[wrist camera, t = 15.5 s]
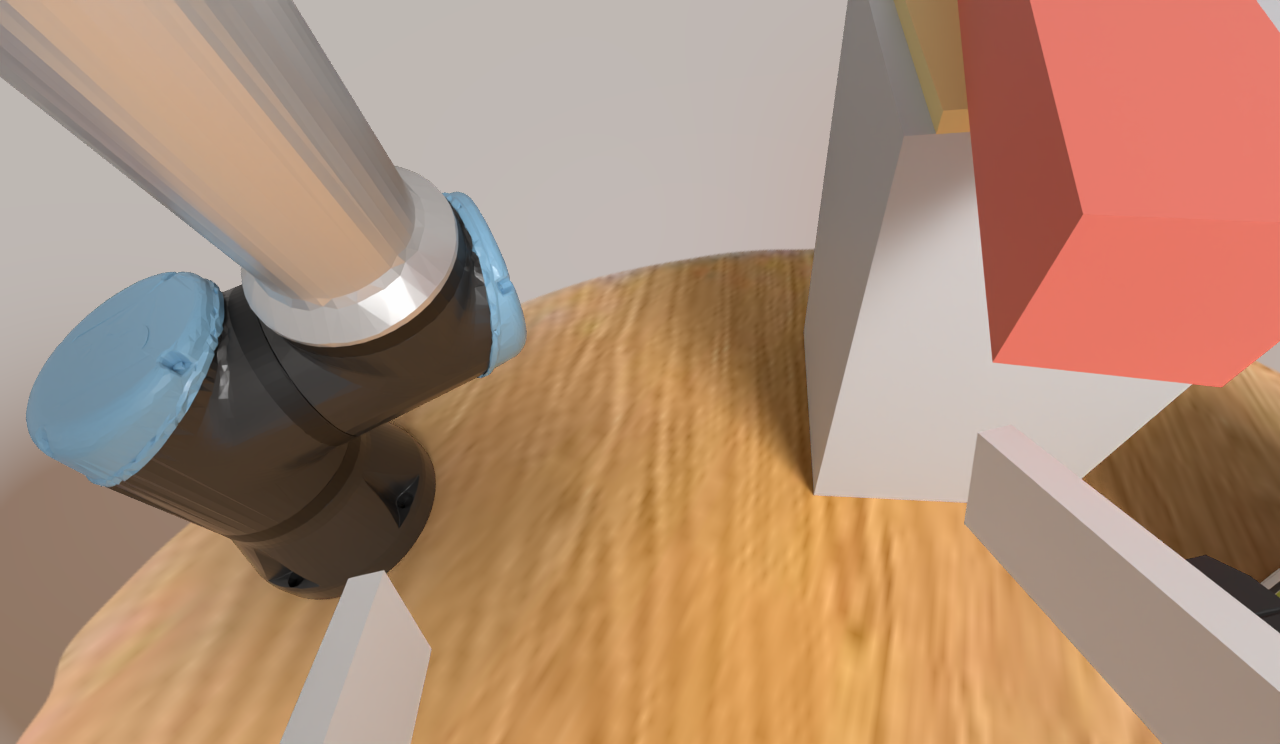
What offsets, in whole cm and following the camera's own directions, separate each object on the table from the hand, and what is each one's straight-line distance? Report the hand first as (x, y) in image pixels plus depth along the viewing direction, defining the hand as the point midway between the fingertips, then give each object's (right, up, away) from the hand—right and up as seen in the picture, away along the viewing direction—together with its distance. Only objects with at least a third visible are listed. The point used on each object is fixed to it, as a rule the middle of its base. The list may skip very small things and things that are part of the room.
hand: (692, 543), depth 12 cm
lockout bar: (+12, +15, +6) cm, 20 cm away
